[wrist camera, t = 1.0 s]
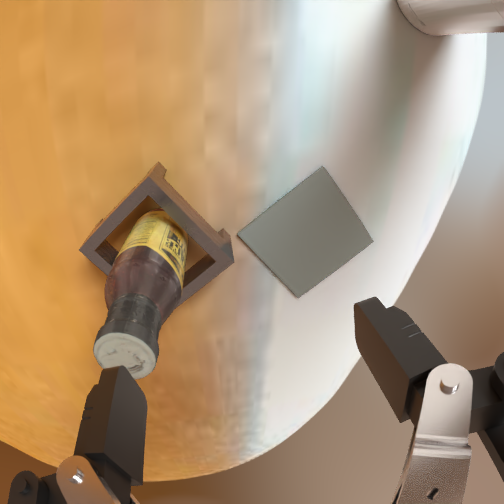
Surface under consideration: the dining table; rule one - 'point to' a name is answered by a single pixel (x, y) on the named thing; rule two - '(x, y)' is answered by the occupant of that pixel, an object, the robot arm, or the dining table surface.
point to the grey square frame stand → (181, 214)
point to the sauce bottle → (142, 293)
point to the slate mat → (307, 233)
